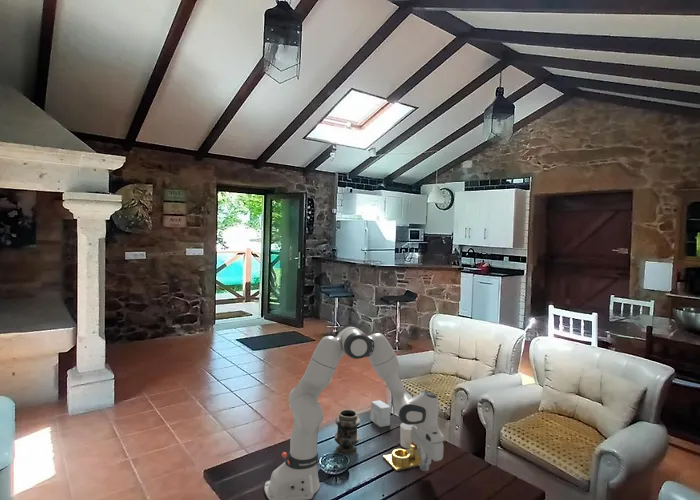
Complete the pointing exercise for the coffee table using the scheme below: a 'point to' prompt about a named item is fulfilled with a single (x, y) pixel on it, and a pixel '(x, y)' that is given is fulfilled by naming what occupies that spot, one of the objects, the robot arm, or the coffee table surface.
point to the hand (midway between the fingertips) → (424, 460)
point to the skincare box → (380, 413)
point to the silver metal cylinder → (423, 461)
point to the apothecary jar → (347, 431)
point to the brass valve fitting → (404, 458)
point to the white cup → (405, 435)
